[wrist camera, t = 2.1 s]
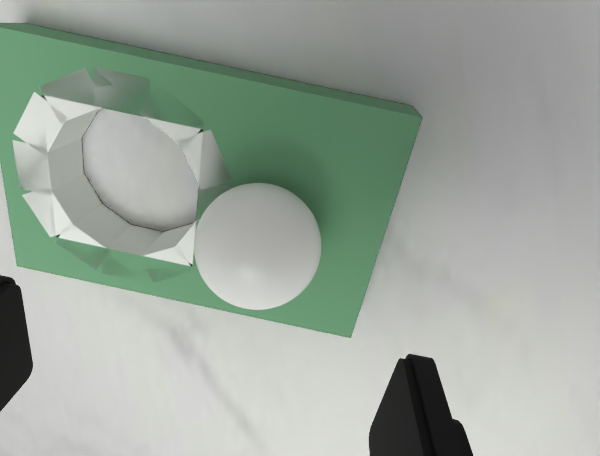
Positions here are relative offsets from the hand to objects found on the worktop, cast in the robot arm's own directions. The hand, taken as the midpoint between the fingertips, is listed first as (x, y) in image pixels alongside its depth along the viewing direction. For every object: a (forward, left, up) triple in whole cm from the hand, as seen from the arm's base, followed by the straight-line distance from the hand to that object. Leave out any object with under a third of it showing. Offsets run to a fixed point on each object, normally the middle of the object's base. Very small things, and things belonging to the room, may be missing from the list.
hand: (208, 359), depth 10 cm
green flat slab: (+3, 0, -11) cm, 11 cm away
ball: (0, 0, -6) cm, 6 cm away
